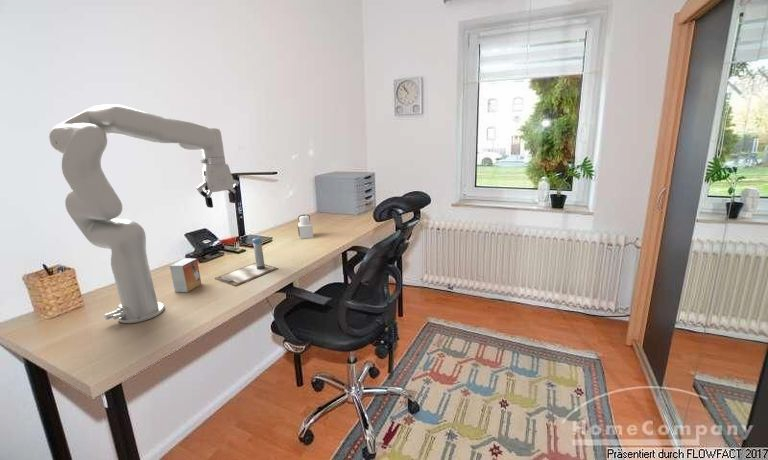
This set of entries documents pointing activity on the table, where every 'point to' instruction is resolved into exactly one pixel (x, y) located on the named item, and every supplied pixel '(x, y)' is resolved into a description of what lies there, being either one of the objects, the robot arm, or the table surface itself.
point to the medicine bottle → (305, 227)
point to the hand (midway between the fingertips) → (221, 204)
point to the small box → (185, 275)
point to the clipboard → (244, 274)
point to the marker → (258, 253)
